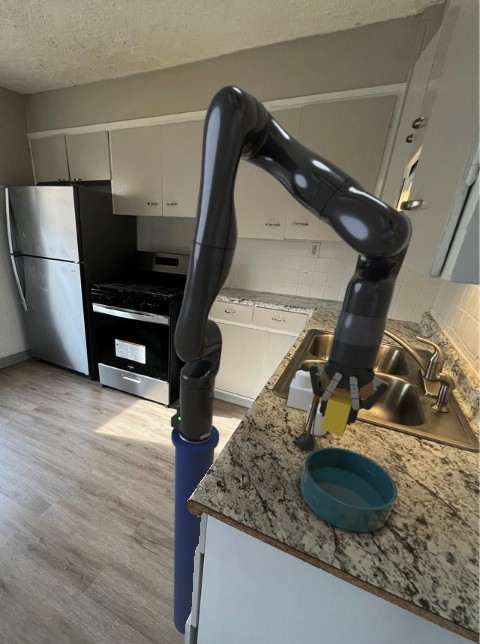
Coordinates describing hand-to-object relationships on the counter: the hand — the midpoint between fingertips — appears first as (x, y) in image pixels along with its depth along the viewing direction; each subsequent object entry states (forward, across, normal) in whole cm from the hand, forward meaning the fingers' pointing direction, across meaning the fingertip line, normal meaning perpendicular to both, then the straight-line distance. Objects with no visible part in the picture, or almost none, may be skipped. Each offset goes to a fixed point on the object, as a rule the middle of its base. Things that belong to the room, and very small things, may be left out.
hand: (336, 418), depth 62 cm
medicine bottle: (+18, +14, -32) cm, 39 cm away
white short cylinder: (+18, +6, -21) cm, 28 cm away
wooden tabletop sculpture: (+18, +6, -13) cm, 23 cm away
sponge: (+2, 0, 0) cm, 2 cm away
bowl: (+18, -5, 0) cm, 18 cm away
